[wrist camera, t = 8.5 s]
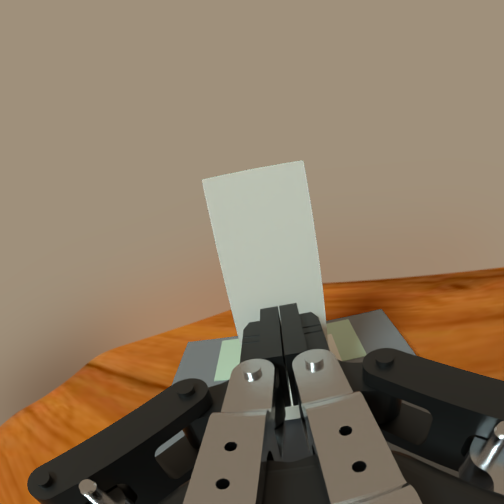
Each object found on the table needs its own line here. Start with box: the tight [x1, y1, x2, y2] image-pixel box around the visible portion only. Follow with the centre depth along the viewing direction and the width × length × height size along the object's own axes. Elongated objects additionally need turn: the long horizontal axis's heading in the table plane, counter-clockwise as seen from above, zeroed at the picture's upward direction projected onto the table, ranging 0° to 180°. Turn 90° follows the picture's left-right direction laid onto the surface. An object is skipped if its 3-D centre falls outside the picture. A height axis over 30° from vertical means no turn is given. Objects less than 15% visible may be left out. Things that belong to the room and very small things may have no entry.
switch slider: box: [202, 160, 342, 420], centre depth 15 cm, size 6×6×12 cm
